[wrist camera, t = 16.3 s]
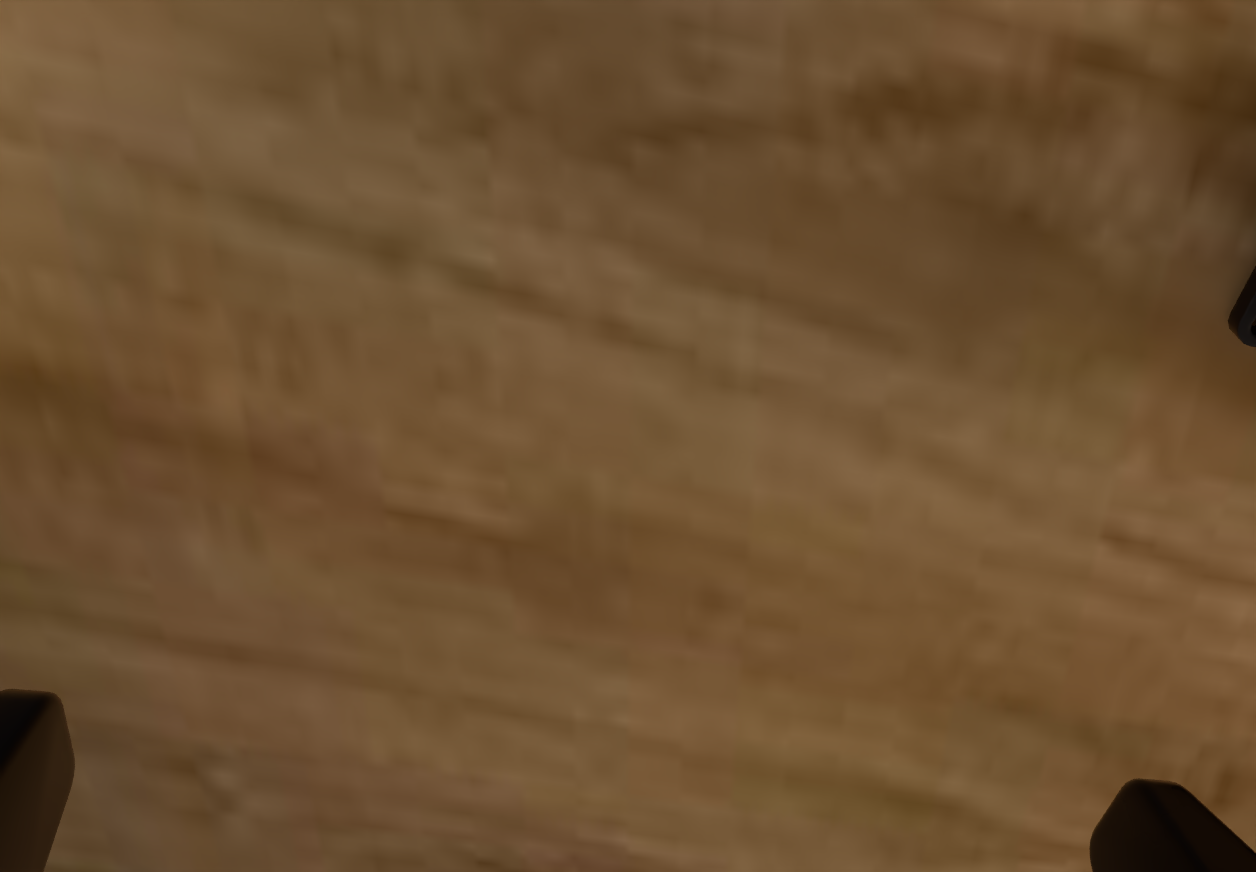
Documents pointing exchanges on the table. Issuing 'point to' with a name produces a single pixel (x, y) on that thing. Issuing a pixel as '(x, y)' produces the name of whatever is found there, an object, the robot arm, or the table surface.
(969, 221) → the table surface
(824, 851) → the table surface
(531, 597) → the table surface
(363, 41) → the table surface
